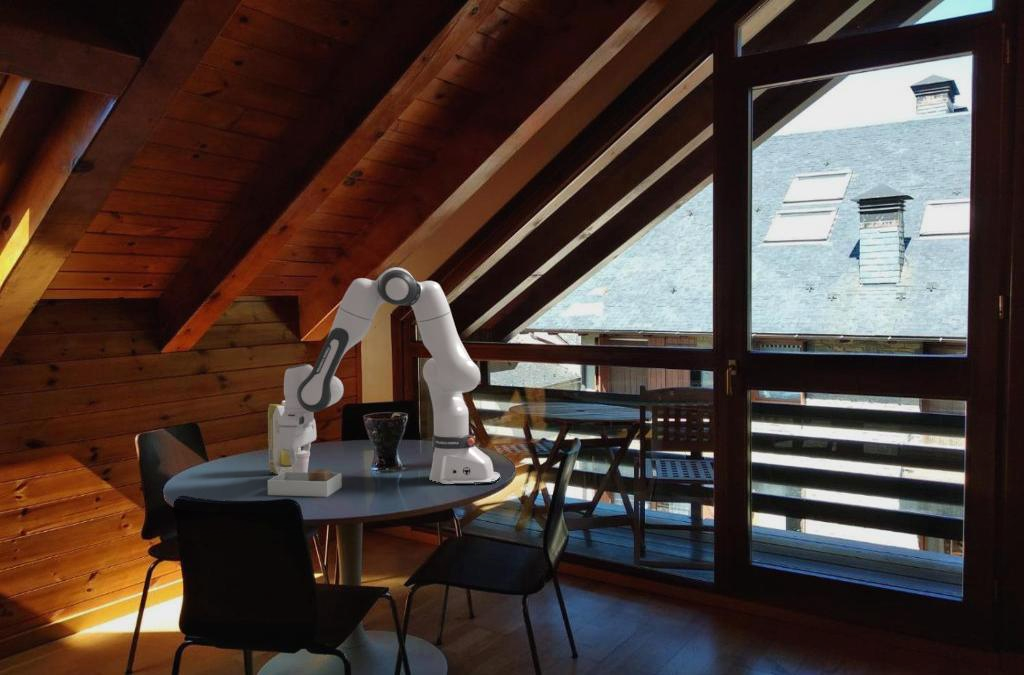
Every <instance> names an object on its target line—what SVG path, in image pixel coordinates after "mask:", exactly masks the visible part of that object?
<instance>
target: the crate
mask: <svg viewBox="0 0 1024 675" xmlns="http://www.w3.org/2000/svg"><path fill="white" fill-rule="evenodd" d="M309 472H310V471H307V472H283V473H281V474H279V475H277V474H276V475H275V476H273V477H272V478H270V479H267V495H268V496H294V497H322V498H324V497H326V498H328V497H330V496H331V495H332V494H334V493H336V492H337V491H338V490H340V489H342V486H343V485H342V484H343V483H342V481H343V480H342V478H343V476H342V472H331V479H329V480H328V481H326V482H322V481H308V473H309Z"/></svg>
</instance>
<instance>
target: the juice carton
mask: <svg viewBox="0 0 1024 675" xmlns="http://www.w3.org/2000/svg"><path fill="white" fill-rule="evenodd" d="M284 405H285V399H284V400H281V403H278V404H277V403H270V404H269V405H268V412H267V431H268V432H267V435H268V436H267V438H268V465H269V470H270V472H271V473H272V472H273V473H272V474H274V473H275V475H277V474H278V475H279V474H281V473H283V472H292V465H291V463H290V457H289V455H288V451H283V450H282V449H281V445H280V427H281V426H279V424H278V420H279V418H280V417H281V416H282V414H283V412H284ZM301 449H302V448H301V447H300V448H299V450H301ZM296 451H297V449H296Z"/></svg>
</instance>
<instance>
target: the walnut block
mask: <svg viewBox="0 0 1024 675" xmlns="http://www.w3.org/2000/svg"><path fill="white" fill-rule="evenodd" d="M308 472H309V473H308V481H322V482H326V481H328V480H329V479H331V473H332V469H324V468H323V469H322V468H320V469H319V468H315V469H311V471H308Z"/></svg>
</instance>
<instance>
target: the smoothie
mask: <svg viewBox="0 0 1024 675" xmlns="http://www.w3.org/2000/svg"><path fill="white" fill-rule="evenodd" d="M310 456H311V450H309V451H305V450H303V449H302V450H299V448H298V449H297V451H296V457H297V463H295V464H291V465H292V472H309V470H308V469H309V463H310V462H309V461H310Z"/></svg>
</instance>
